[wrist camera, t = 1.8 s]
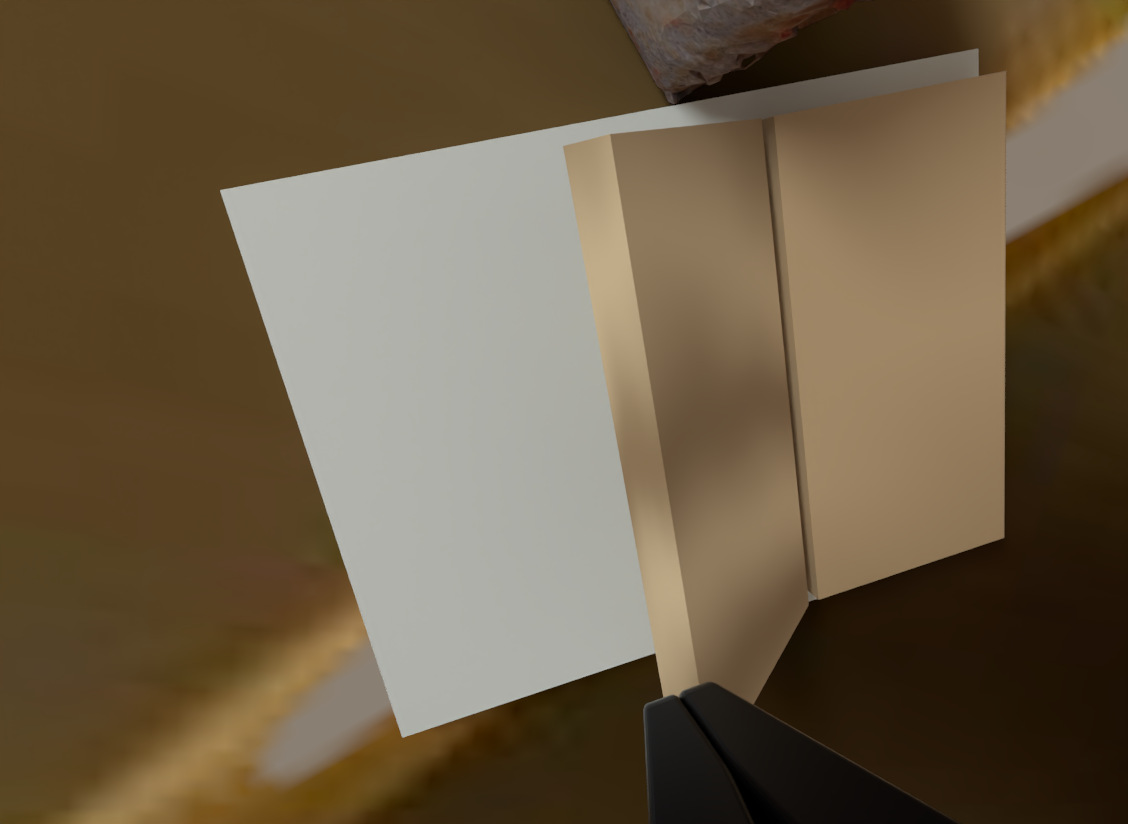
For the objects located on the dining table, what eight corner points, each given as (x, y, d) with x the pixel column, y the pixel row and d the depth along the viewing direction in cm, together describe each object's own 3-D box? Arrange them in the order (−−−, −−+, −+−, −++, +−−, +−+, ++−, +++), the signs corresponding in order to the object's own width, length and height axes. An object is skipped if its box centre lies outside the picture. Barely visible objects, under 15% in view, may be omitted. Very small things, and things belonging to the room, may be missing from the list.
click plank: (776, 598, 21) (809, 604, 21) (674, 760, 16) (713, 775, 16) (723, 127, 17) (761, 118, 17) (562, 146, 12) (609, 134, 11)
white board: (959, 531, 24) (1006, 556, 22) (402, 714, 21) (402, 763, 19) (950, 57, 20) (1009, 39, 18) (230, 192, 16) (209, 187, 14)
